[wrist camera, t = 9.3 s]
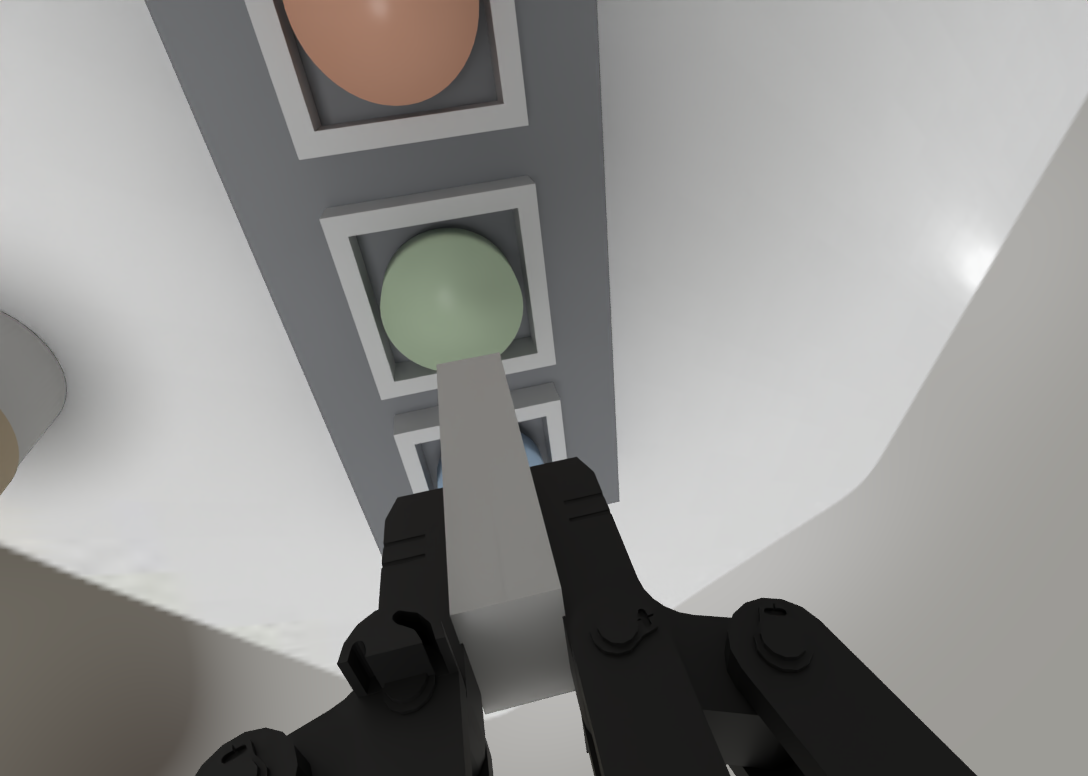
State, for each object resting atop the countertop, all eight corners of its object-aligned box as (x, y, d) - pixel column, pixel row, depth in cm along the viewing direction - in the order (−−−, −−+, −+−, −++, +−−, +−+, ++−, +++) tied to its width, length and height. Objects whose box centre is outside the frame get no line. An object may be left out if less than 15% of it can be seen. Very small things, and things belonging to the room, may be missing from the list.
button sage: (505, 216, 19) (512, 228, 18) (524, 339, 22) (531, 357, 20) (365, 240, 18) (361, 255, 17) (401, 363, 21) (401, 384, 20)
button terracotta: (454, -125, 14) (458, -144, 13) (486, 90, 17) (493, 92, 15) (260, -106, 13) (243, -124, 12) (326, 112, 16) (318, 117, 15)
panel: (558, -212, 16) (601, -291, 13) (603, 466, 32) (628, 521, 28) (110, -177, 15) (8, -255, 11) (385, 516, 30) (381, 581, 26)
